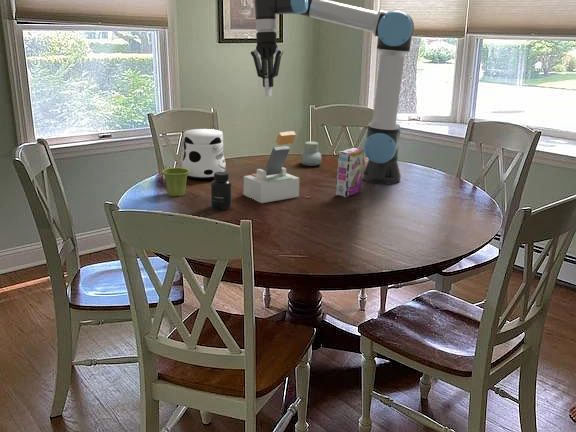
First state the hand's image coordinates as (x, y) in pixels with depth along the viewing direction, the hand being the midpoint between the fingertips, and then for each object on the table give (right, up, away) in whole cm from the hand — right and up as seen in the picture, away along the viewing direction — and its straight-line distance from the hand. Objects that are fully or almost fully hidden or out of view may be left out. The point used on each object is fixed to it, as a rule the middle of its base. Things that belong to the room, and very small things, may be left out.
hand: (268, 95), depth 227 cm
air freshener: (+18, -24, +36) cm, 46 cm away
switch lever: (+2, -31, -15) cm, 34 cm away
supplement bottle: (-15, -44, -28) cm, 54 cm away
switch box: (+1, -39, -13) cm, 41 cm away
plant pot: (-33, -38, -13) cm, 52 cm away
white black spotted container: (-26, -30, +12) cm, 42 cm away
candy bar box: (+30, -38, -7) cm, 49 cm away
